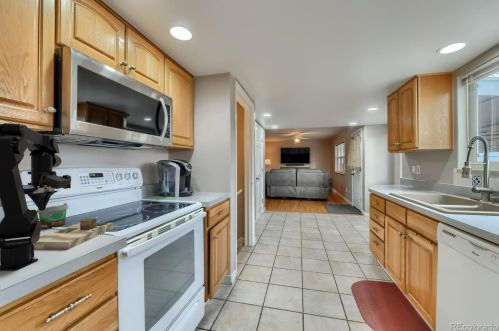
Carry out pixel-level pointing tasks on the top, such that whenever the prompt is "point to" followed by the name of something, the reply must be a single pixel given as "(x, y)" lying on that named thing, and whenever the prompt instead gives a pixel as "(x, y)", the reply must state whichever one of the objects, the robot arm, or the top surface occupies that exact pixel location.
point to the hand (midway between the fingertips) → (42, 210)
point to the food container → (53, 216)
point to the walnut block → (88, 223)
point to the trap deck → (70, 236)
